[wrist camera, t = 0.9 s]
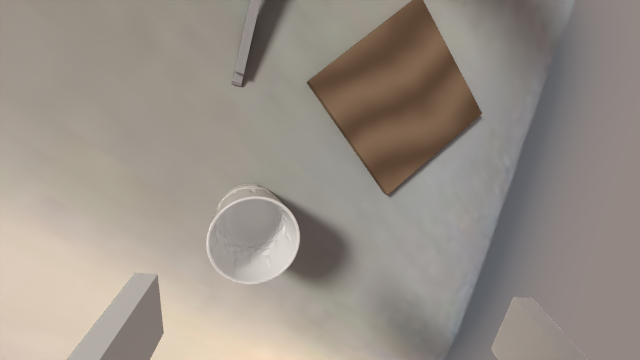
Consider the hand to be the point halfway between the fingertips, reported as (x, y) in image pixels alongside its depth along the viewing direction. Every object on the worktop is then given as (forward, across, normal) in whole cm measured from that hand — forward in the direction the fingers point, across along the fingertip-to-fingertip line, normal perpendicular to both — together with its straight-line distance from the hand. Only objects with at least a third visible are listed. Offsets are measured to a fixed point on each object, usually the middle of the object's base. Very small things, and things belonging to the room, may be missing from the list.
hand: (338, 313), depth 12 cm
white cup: (+24, -7, -9) cm, 26 cm away
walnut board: (+31, +10, +5) cm, 33 cm away
